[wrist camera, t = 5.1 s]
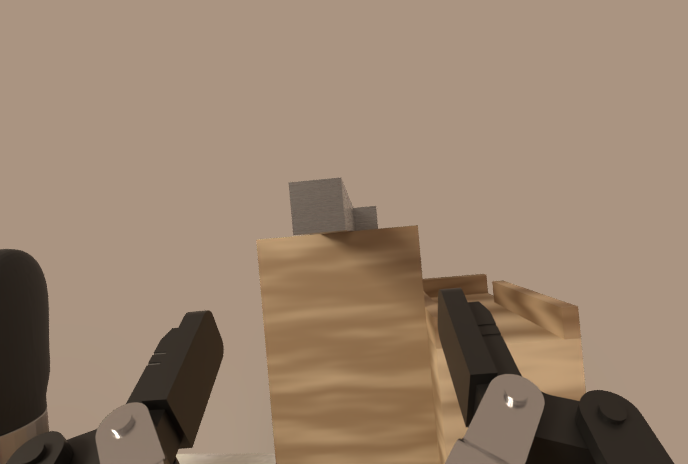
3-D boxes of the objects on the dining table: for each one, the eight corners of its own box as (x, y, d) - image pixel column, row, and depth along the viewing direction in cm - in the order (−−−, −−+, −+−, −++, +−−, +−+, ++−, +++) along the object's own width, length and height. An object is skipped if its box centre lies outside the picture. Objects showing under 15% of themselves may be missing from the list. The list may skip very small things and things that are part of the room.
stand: (616, 721, 24) (569, 211, 24) (284, 729, 25) (241, 240, 25) (504, 505, 43) (478, 220, 43) (318, 515, 44) (293, 237, 44)
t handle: (396, 225, 17) (391, 172, 17) (243, 239, 18) (239, 187, 18) (377, 229, 41) (375, 207, 41) (312, 235, 42) (310, 213, 42)
